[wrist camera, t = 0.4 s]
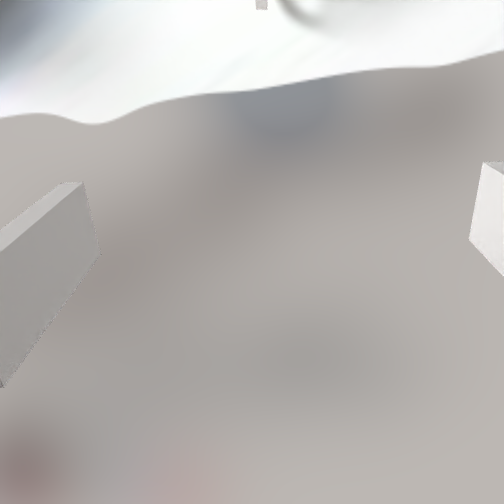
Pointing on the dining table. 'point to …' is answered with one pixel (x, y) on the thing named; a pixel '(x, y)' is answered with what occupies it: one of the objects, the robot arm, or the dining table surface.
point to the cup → (261, 4)
